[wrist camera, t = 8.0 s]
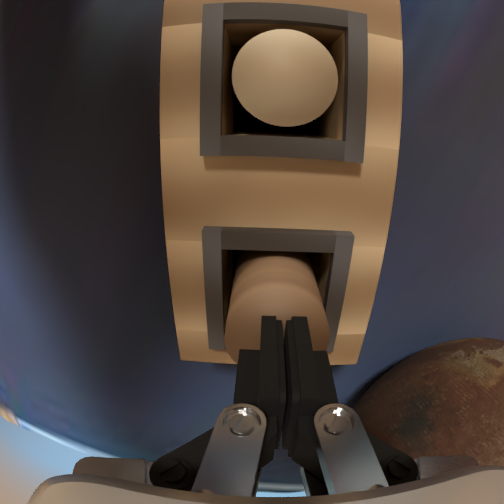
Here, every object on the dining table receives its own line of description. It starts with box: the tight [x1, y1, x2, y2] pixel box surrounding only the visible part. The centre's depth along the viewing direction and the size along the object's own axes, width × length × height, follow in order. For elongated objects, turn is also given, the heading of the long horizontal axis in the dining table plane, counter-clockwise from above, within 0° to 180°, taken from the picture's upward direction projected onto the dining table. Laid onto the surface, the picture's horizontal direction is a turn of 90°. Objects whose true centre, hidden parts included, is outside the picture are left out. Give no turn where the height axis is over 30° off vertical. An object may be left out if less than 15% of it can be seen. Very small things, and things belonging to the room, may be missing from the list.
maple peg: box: [232, 29, 338, 127], centre depth 13 cm, size 4×4×7 cm
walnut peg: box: [224, 250, 330, 364], centre depth 14 cm, size 4×4×7 cm
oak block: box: [160, 0, 403, 365], centre depth 15 cm, size 19×10×7 cm, turn 179°
